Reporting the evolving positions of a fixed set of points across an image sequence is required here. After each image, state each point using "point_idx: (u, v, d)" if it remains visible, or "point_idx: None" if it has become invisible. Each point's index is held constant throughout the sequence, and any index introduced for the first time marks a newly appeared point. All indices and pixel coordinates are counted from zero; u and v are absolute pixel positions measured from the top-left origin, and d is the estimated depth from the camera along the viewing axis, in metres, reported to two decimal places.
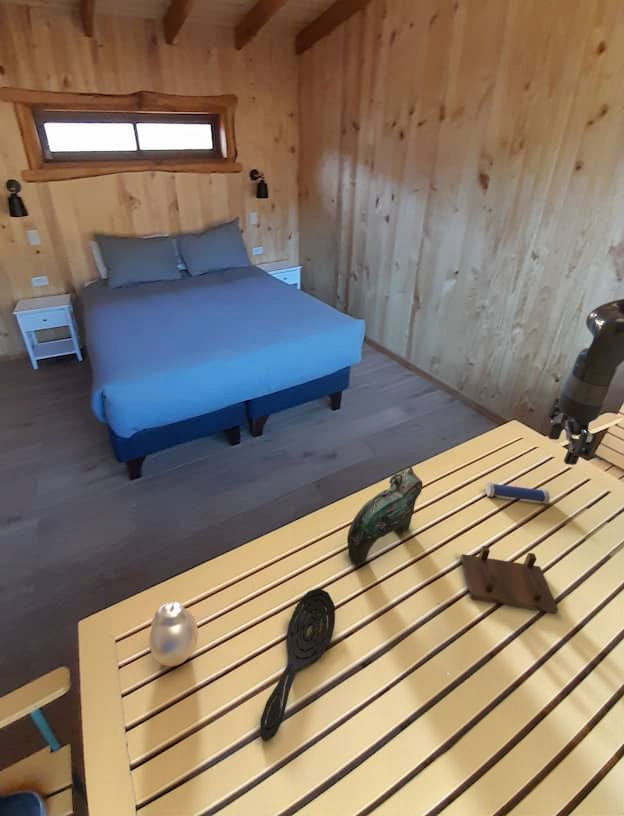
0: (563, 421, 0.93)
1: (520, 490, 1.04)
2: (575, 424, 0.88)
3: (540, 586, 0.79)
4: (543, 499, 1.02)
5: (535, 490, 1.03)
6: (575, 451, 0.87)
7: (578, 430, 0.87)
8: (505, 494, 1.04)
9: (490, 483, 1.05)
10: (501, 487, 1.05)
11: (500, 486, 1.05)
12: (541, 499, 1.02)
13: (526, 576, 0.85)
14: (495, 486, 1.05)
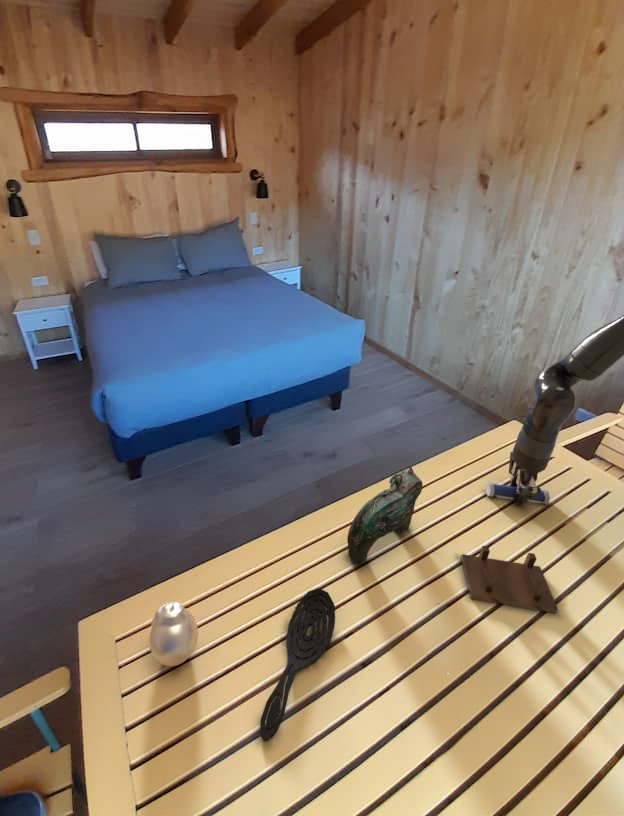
0: None
1: None
2: (526, 474, 0.98)
3: (540, 586, 0.79)
4: (543, 499, 1.02)
5: None
6: (520, 494, 1.00)
7: (528, 479, 0.97)
8: (505, 494, 1.04)
9: (490, 483, 1.05)
10: (501, 487, 1.04)
11: (500, 486, 1.05)
12: (541, 499, 1.02)
13: (526, 576, 0.85)
14: (495, 486, 1.05)
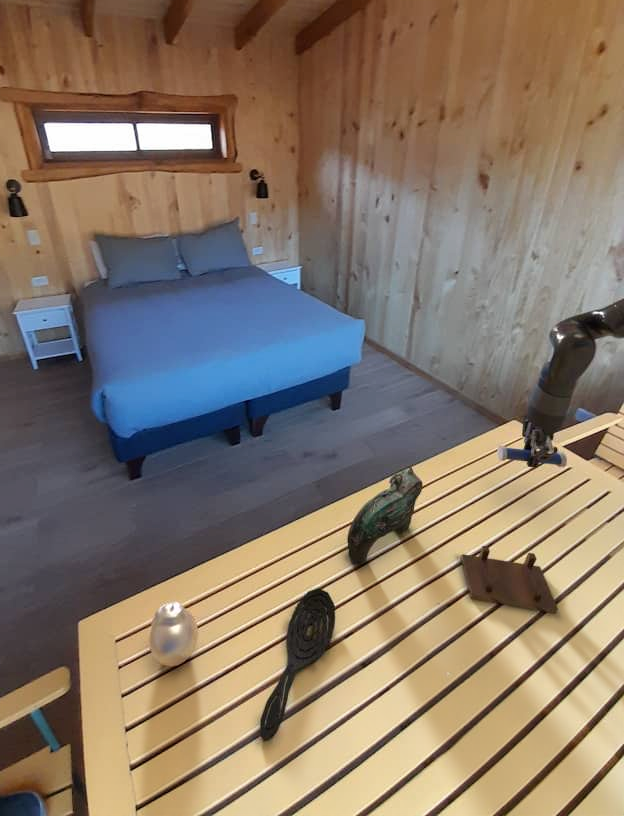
0: None
1: None
2: (541, 433, 0.92)
3: (540, 586, 0.79)
4: (559, 462, 0.96)
5: None
6: (535, 455, 0.94)
7: (544, 439, 0.91)
8: (519, 458, 0.98)
9: (502, 447, 0.99)
10: (514, 450, 0.98)
11: (513, 449, 0.99)
12: (557, 462, 0.96)
13: (526, 576, 0.85)
14: (508, 450, 0.99)
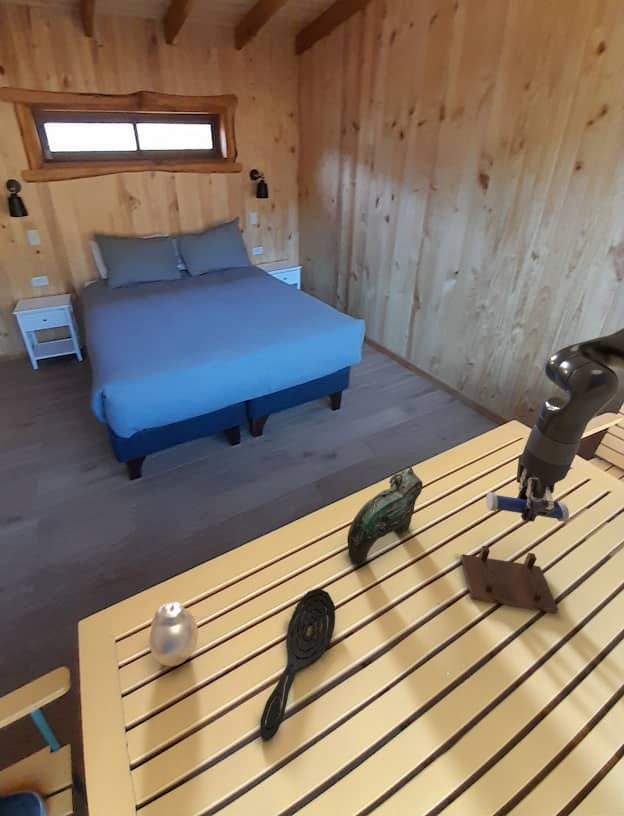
0: None
1: None
2: (539, 483, 0.76)
3: (540, 586, 0.79)
4: (560, 516, 0.80)
5: None
6: (532, 509, 0.78)
7: (542, 491, 0.75)
8: (511, 509, 0.82)
9: (492, 494, 0.83)
10: (506, 499, 0.82)
11: (505, 498, 0.83)
12: (557, 516, 0.80)
13: (526, 576, 0.85)
14: (499, 498, 0.83)
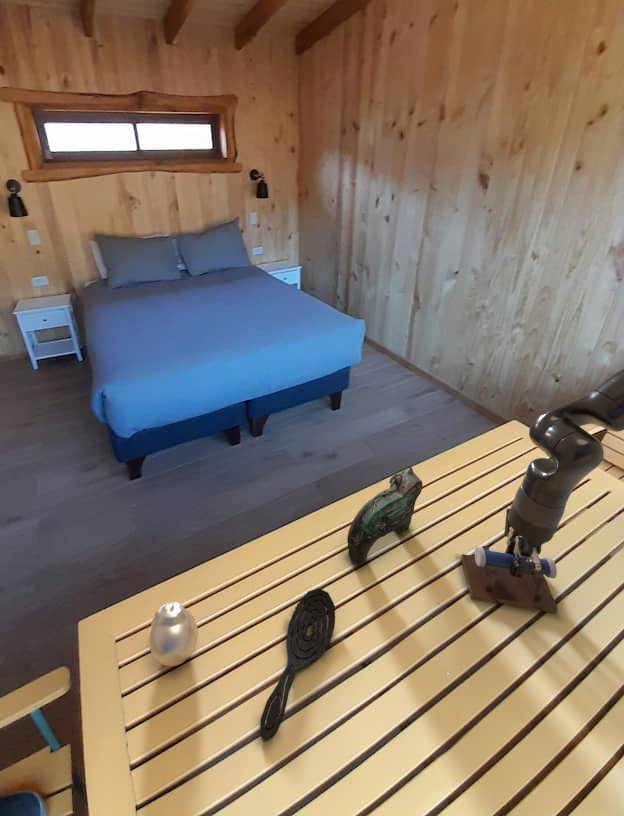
0: (517, 535, 0.79)
1: None
2: (526, 544, 0.76)
3: (540, 586, 0.79)
4: (548, 573, 0.80)
5: None
6: (519, 568, 0.77)
7: (529, 552, 0.75)
8: (499, 565, 0.81)
9: (480, 550, 0.83)
10: (494, 555, 0.82)
11: (493, 554, 0.82)
12: (545, 573, 0.80)
13: (526, 576, 0.85)
14: (487, 554, 0.82)
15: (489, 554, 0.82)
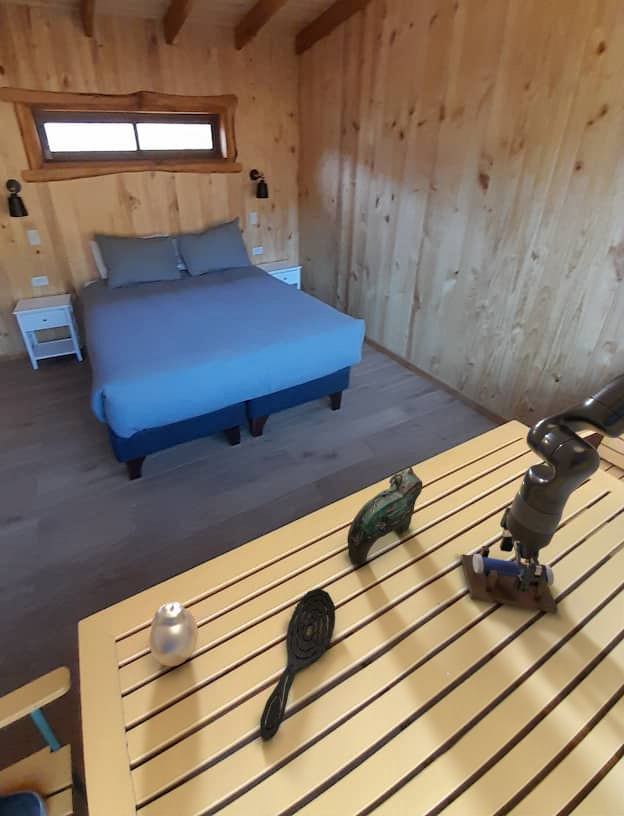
0: (513, 538, 0.81)
1: (516, 568, 0.82)
2: (524, 549, 0.76)
3: (540, 586, 0.79)
4: None
5: None
6: (523, 582, 0.75)
7: (527, 557, 0.75)
8: (497, 572, 0.82)
9: (479, 558, 0.83)
10: (492, 563, 0.83)
11: (491, 562, 0.83)
12: None
13: None
14: (485, 562, 0.83)
15: (487, 562, 0.83)
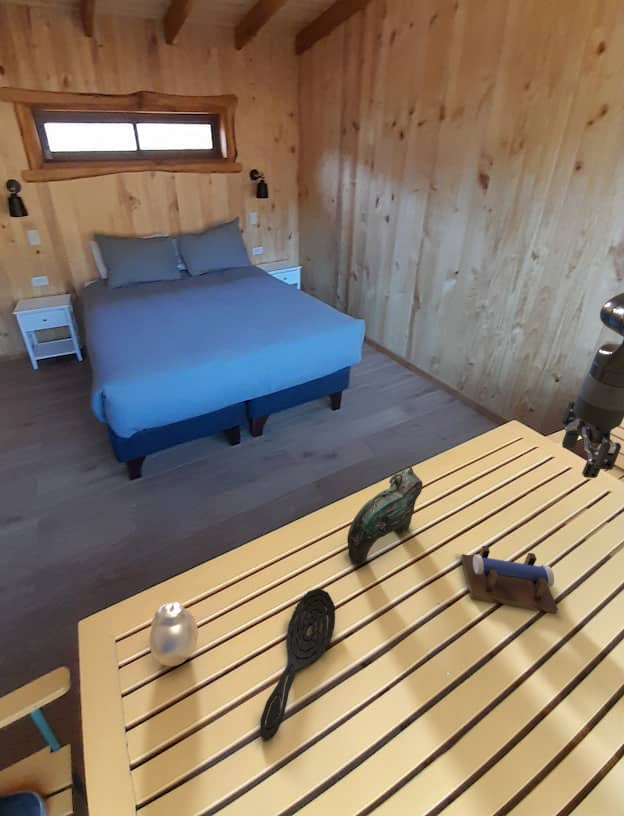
0: (580, 428, 0.81)
1: (516, 570, 0.81)
2: (594, 432, 0.77)
3: (540, 586, 0.79)
4: None
5: (536, 569, 0.81)
6: (596, 463, 0.76)
7: (598, 439, 0.76)
8: (497, 573, 0.82)
9: (479, 559, 0.83)
10: (493, 565, 0.82)
11: (491, 563, 0.83)
12: None
13: None
14: (485, 563, 0.83)
15: (487, 563, 0.83)
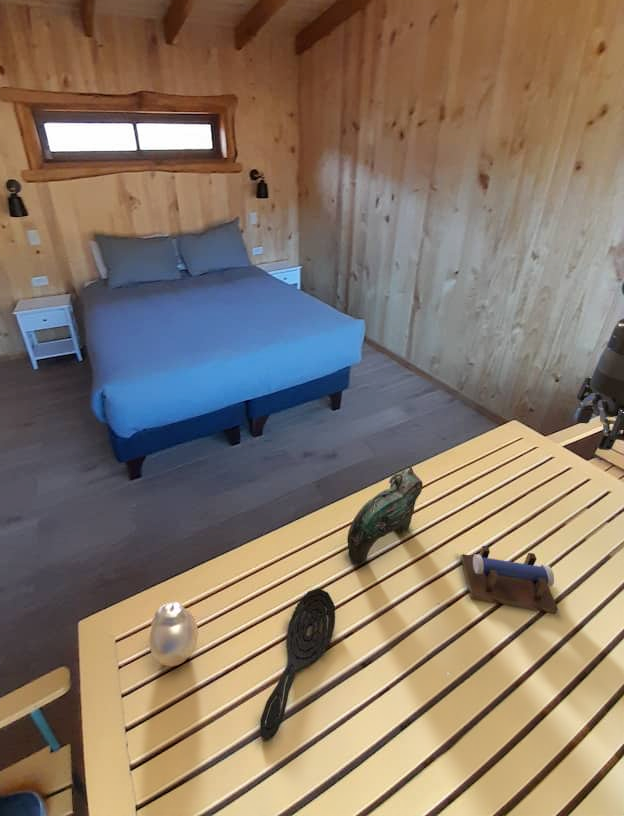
0: (595, 402, 0.83)
1: (516, 570, 0.81)
2: (611, 404, 0.79)
3: (540, 586, 0.79)
4: None
5: (536, 569, 0.81)
6: (611, 434, 0.78)
7: (614, 411, 0.78)
8: (497, 573, 0.82)
9: (479, 559, 0.83)
10: (493, 564, 0.82)
11: (491, 563, 0.83)
12: None
13: None
14: (485, 563, 0.83)
15: (487, 563, 0.83)
